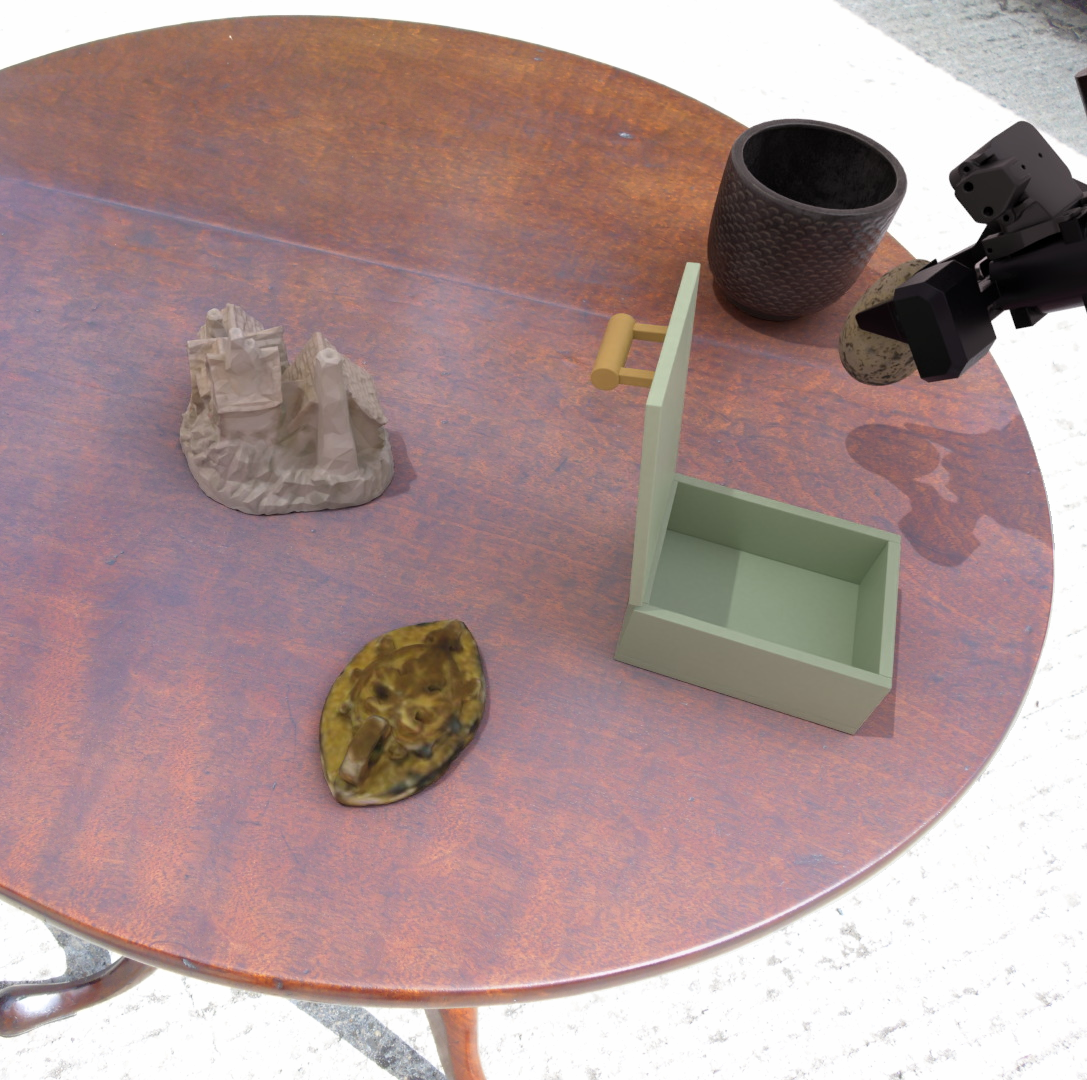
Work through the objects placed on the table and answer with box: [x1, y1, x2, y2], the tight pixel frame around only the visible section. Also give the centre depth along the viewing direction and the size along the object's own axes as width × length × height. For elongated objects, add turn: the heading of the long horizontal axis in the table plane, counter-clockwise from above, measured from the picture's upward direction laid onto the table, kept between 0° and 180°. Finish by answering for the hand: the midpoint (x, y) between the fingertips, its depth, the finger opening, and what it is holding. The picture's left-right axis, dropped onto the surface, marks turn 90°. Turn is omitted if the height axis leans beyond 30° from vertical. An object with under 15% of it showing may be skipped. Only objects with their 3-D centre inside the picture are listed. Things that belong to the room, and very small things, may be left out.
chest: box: [613, 471, 902, 736], centre depth 71 cm, size 16×13×6 cm
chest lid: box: [589, 261, 702, 606], centre depth 64 cm, size 16×13×4 cm
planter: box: [706, 118, 908, 322], centre depth 91 cm, size 14×14×13 cm
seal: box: [318, 618, 487, 807], centre depth 66 cm, size 9×5×15 cm
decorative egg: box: [838, 258, 931, 387], centre depth 74 cm, size 6×6×10 cm
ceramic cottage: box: [178, 302, 395, 516], centre depth 77 cm, size 16×16×15 cm
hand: (881, 304), depth 74 cm, fingers closed on decorative egg, 5 cm apart
